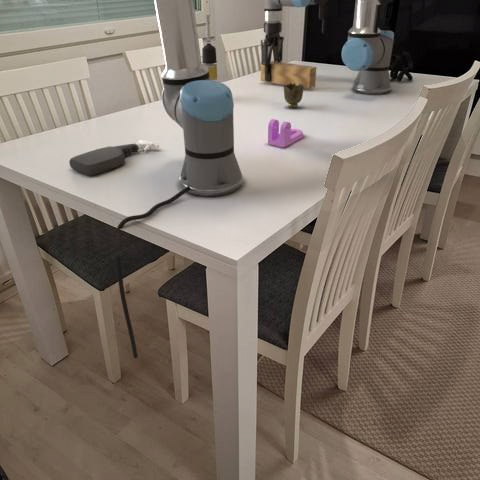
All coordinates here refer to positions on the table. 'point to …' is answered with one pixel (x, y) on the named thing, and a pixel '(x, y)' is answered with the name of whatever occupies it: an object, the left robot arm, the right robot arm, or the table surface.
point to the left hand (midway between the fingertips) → (349, 32)
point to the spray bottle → (106, 157)
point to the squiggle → (401, 66)
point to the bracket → (282, 134)
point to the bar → (291, 74)
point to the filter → (209, 54)
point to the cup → (293, 94)
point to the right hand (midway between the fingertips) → (271, 79)
